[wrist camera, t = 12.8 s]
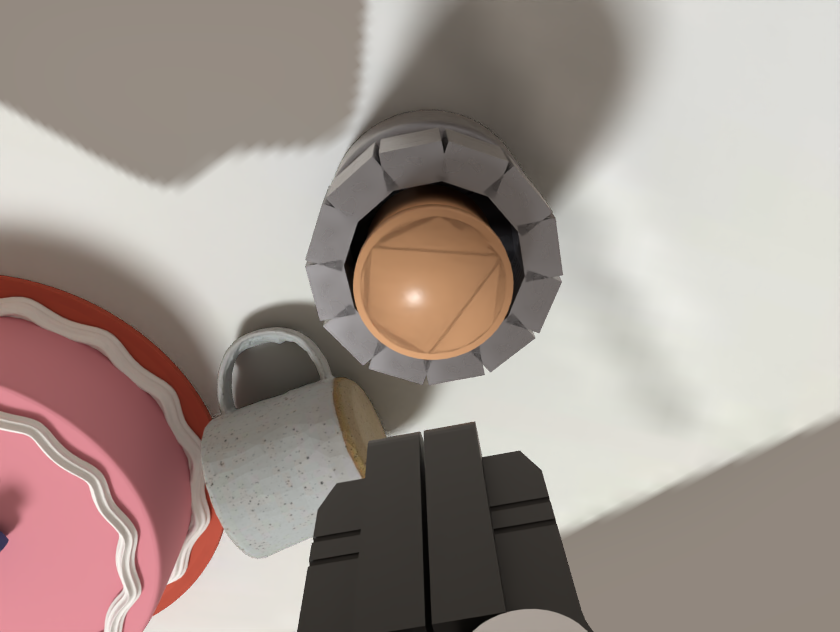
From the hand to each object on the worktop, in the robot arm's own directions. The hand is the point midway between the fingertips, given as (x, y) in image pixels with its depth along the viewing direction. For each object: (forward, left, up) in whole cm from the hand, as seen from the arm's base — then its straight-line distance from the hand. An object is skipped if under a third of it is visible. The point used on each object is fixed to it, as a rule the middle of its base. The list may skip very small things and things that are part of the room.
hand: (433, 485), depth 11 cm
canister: (0, +4, -29) cm, 29 cm away
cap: (0, +4, -23) cm, 23 cm away
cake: (+27, +15, -30) cm, 42 cm away
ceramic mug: (+10, +14, -29) cm, 34 cm away
